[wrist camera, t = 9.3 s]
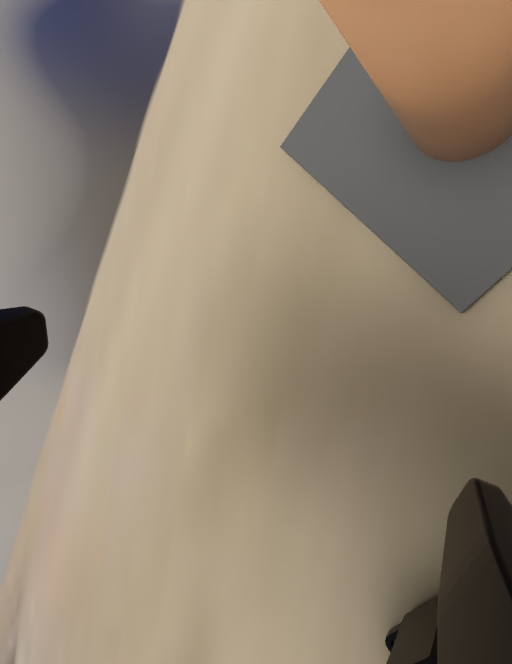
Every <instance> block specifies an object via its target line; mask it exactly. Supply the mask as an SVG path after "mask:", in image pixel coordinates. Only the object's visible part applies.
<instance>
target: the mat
mask: <svg viewBox="0 0 512 664" xmlns="http://www.w3.org/2000/svg"><path fill="white" fill-rule="evenodd" d="M280 147H281V148H282V149H283V150H284V151H285V152H286V153H287V154H288V155H290V156H291V157H292V158H293V159H294V160H295V161H296V162H297V163H298V164H299V165H300V166H302V167H303V168H304V169H305V170H306V171H307V172H308V173H309V174H310V175H311V176H312V177H314V178H315V179H316V180H317V181H318V182H319V183H320V184H321V185H322V186H323V187H324V188H326V189H327V190H328V191H329V192H330V193H331V194H332V195H333V196H334V197H335V198H336V199H338V200H339V201H340V202H341V203H342V204H343V205H344V206H345V207H346V208H347V209H348V210H350V211H351V212H352V213H353V214H354V215H355V216H356V217H357V218H358V219H359V220H360V221H362V222H363V223H364V224H365V225H366V226H367V227H368V228H369V229H370V230H371V231H372V232H374V233H375V234H376V235H377V236H378V237H379V238H380V239H381V240H382V241H383V242H384V243H386V244H387V245H388V246H389V247H390V248H391V249H392V250H393V251H394V252H395V253H396V254H398V255H399V256H400V257H401V258H402V259H403V260H404V261H405V262H406V263H407V264H408V265H409V266H411V267H412V268H413V269H414V270H415V271H416V272H417V273H418V274H419V275H420V276H421V277H423V278H424V279H425V280H426V281H427V282H428V283H429V284H430V285H431V286H432V287H433V288H435V289H436V290H437V291H438V292H439V293H440V294H441V295H442V296H443V297H444V298H445V299H447V300H448V301H449V302H450V303H451V304H452V305H453V306H454V307H455V308H456V309H457V310H459V311H460V312H461V313H463V312H464V311H465V310H466V309H467V308H468V307H470V306H471V305H472V304H473V303H474V302H475V301H476V300H477V299H479V298H480V297H481V296H482V295H483V294H484V293H485V292H486V291H488V290H489V289H490V288H491V287H492V286H493V285H494V284H495V283H497V282H498V281H499V280H500V279H501V278H502V277H503V276H504V275H506V274H507V273H508V272H509V271H510V270H511V269H512V135H511V136H510V137H509V138H508V139H507V140H505V141H504V142H503V143H502V144H501V145H499V146H498V147H496V148H495V149H493V150H492V151H490V152H488V153H486V154H484V155H482V156H479V157H477V158H473V159H470V160H465V161H457V162H449V161H441V160H437V159H434V158H432V157H429V156H428V155H426V154H424V153H423V152H422V151H421V150H419V149H418V147H417V146H416V145H415V144H414V142H413V141H412V139H411V138H410V136H409V135H408V133H407V132H406V130H405V129H404V127H403V126H402V124H401V123H400V121H399V120H398V118H397V117H396V115H395V114H394V112H393V111H392V109H391V108H390V106H389V105H388V103H387V102H386V100H385V99H384V97H383V96H382V94H381V93H380V91H379V90H378V88H377V87H376V85H375V84H374V82H373V81H372V79H371V78H370V76H369V75H368V73H367V72H366V70H365V69H364V67H363V66H362V64H361V63H360V61H359V60H358V58H357V57H356V55H355V54H354V52H353V51H352V49H351V48H349V49H348V50H347V52H346V53H345V55H344V56H343V58H342V59H341V60H340V62H339V63H338V65H337V66H336V68H335V69H334V70H333V72H332V73H331V75H330V76H329V78H328V79H327V80H326V82H325V83H324V85H323V86H322V88H321V89H320V90H319V92H318V93H317V95H316V96H315V98H314V99H313V101H312V102H311V103H310V105H309V106H308V108H307V109H306V111H305V112H304V113H303V115H302V116H301V118H300V119H299V121H298V122H297V123H296V125H295V126H294V128H293V129H292V131H291V132H290V133H289V135H288V136H287V138H286V139H285V141H284V142H283V143H282V145H281V146H280Z"/></svg>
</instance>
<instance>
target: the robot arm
mask: <svg viewBox="0 0 512 664" xmlns="http://www.w3.org/2000/svg"><path fill="white" fill-rule="evenodd" d="M47 348H48V336H47V328H46V320H45V317H44V315H43V313H41V312H40V311H37V310H35V309H32V308H30V307H24V306H23V307H16V308H7V309H0V400H1V399H2V398H3V397H4V396H5V395H6V394H7V393H8V392H9V391H10V390H11V389H12V388H13V387H14V386H15V385H16V384H17V383H18V381H19V380H20V379H21V378H22V377H23V376H24V375H25V374H26V373H27V372H28V371H29V370H30V369H31V368H32V367H33V366H34V365H35V363H36V362H37V361H38V360H39V359H40V358H41V357H42V356H43V355H44V354H45V352H46V350H47ZM394 640H395V642H394ZM385 642H386V646H387V648H388V650H389V651H390V652H391V653H390V656H389V659H388V661H387V664H512V505H511V503H510V502H509V500H508V499H507V498H506V496H505V495H504V493H503V492H502V491H501V489H500V488H499V487H497V486H496V485H493V484H491V483H488V482H485V481H483V480H480V479H478V478H472V479H471V480H469V481H468V482H467V484H466V485H465V487H464V488H463V490H462V491H461V493H460V494H459V496H458V498H457V499H456V501H455V502H454V504H453V505H452V507H451V509H450V512H449V515H448V521H447V529H446V538H445V546H444V555H443V563H442V572H441V581H440V589H439V597H437V598H435V599H433V600H432V601H430V602H428V603H426V604H424V605H422V606H420V607H419V608H417V609H415V610H413V611H411V612H409V613H408V614H406V615H405V616H404V618H403V621H402V623H401V624H400V625H398V626H396V627H394V628H392V629H391V630H390V631H389V632H388V634H387V636H386V640H385Z"/></svg>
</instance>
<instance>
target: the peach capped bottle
mask: <svg viewBox="0 0 512 664" xmlns="http://www.w3.org/2000/svg"><path fill="white" fill-rule="evenodd" d="M319 1H320V3H321V4H322V6H323V7H324V9H325V10H326V12H327V13H328V15H329V16H330V18H331V19H332V21H333V22H334V24H335V25H336V27H337V28H338V30H339V31H340V33H341V34H342V36H343V37H344V39H345V40H346V42H347V43H348V45H349V46H350V48H351V49H352V51H353V52H354V54H355V55H356V57H357V58H358V60H359V61H360V63H361V64H362V66H363V67H364V69H365V70H366V72H367V73H368V75H369V76H370V78H371V79H372V81H373V82H374V84H375V85H376V87H377V88H378V90H379V91H380V93H381V94H382V96H383V97H384V99H385V100H386V102H387V103H388V105H389V106H390V108H391V109H392V111H393V112H394V114H395V115H396V117H397V118H398V120H399V121H400V123H401V124H402V126H403V127H404V129H405V130H406V132H407V133H408V135H409V136H410V138H411V139H412V141H413V142H414V144H415V145H416V146H417V147H418V149H419V150H421V151H422V152H423V153H424V154H426V155H428V156H429V157H432V158H434V159H437V160H441V161H449V162H457V161H465V160H470V159H473V158H477V157H479V156H482V155H484V154H486V153H488V152H490V151H492V150H493V149H495V148H496V147H498V146H499V145H501V144H502V143H503V142H504V141H505V140H507V139H508V138H509V137H510V136H511V135H512V0H319Z"/></svg>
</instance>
